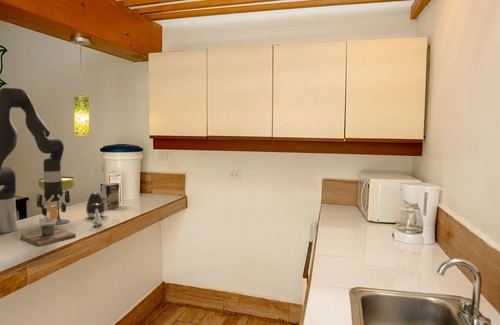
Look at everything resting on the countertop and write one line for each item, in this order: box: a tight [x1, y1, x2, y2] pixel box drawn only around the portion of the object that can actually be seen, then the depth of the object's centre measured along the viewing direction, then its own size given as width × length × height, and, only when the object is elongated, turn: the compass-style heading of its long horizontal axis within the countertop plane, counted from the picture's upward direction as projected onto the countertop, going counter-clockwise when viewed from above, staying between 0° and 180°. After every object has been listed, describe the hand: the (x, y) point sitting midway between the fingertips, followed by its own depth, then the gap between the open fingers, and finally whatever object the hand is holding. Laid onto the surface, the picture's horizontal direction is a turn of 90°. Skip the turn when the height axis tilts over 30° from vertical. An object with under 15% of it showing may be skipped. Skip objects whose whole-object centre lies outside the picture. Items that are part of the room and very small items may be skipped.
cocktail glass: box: [37, 176, 76, 226], centre depth 198 cm, size 18×18×25 cm
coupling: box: [38, 204, 58, 228], centre depth 169 cm, size 7×12×11 cm, turn 52°
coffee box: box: [101, 183, 120, 211], centre depth 233 cm, size 9×6×16 cm
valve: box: [90, 203, 103, 227], centre depth 194 cm, size 7×7×12 cm
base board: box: [19, 225, 77, 247], centre depth 172 cm, size 19×17×6 cm
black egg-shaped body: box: [85, 191, 106, 219], centre depth 211 cm, size 10×10×15 cm
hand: (54, 213), depth 167 cm, fingers open, 8 cm apart
